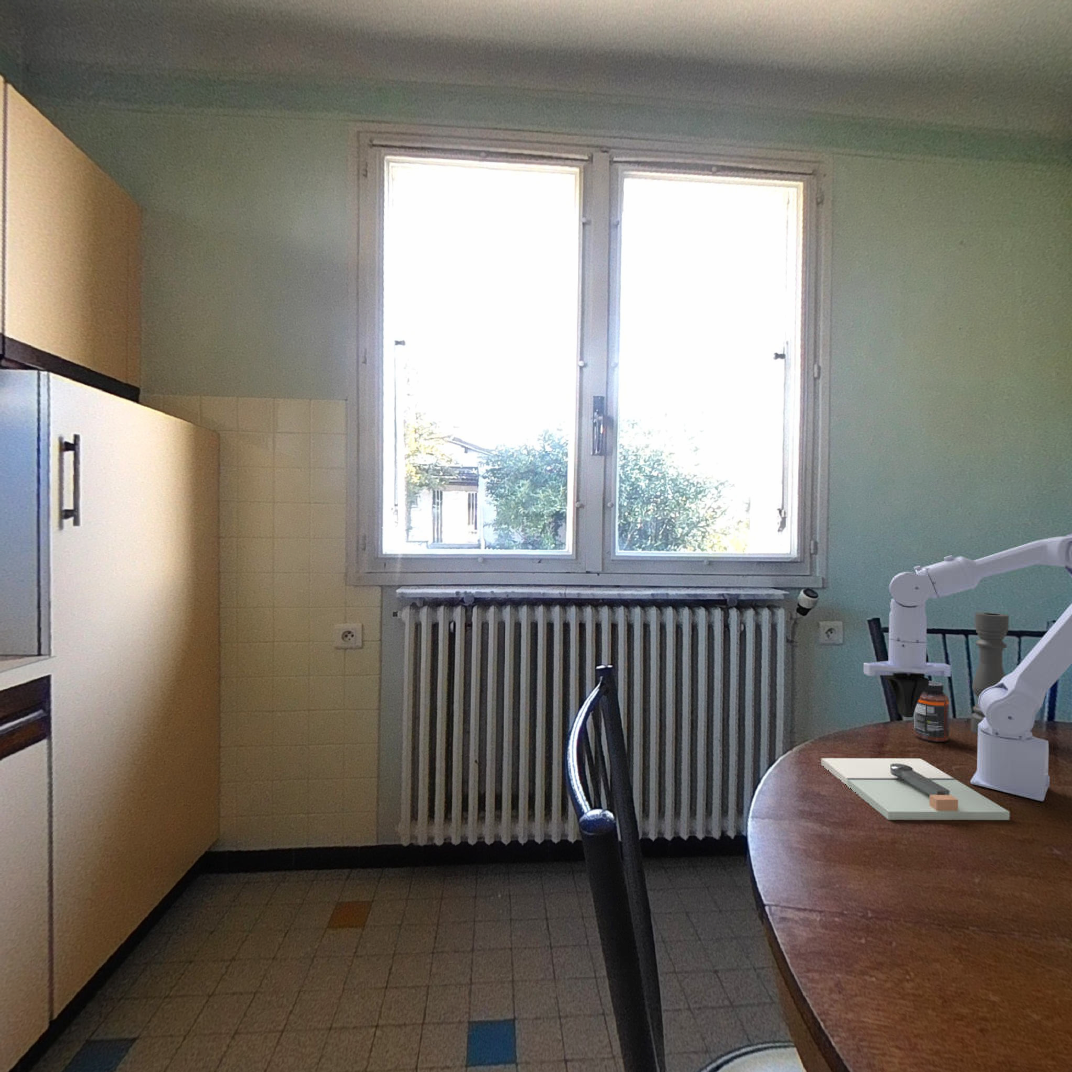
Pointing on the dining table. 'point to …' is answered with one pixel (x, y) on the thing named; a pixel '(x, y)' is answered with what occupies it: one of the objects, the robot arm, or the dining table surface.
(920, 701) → the supplement bottle
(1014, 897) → the dining table surface
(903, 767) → the bar
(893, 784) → the plate
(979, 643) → the candle holder
